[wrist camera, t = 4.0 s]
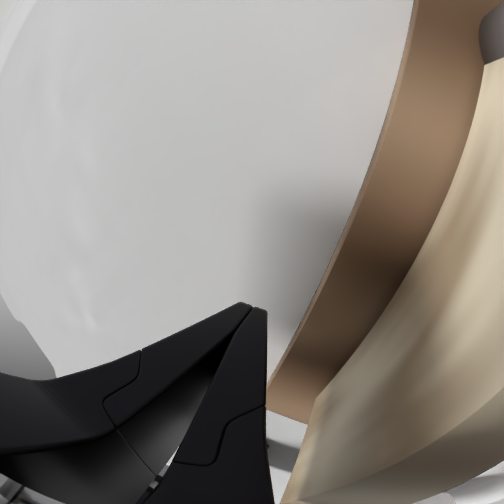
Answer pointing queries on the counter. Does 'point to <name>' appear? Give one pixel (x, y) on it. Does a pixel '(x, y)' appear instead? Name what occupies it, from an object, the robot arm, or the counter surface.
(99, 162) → the counter surface
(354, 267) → the wooden board
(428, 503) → the white smooth oval part
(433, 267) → the hinged leg
